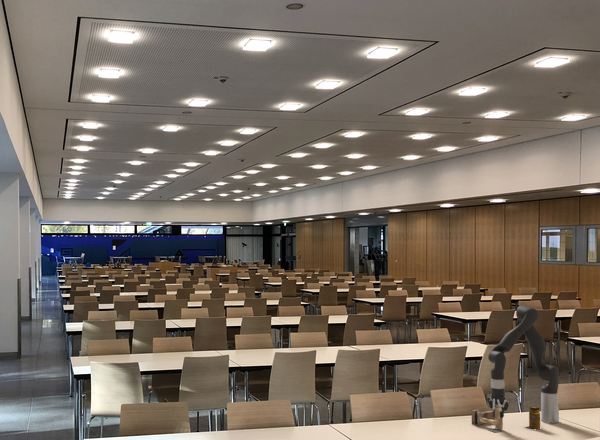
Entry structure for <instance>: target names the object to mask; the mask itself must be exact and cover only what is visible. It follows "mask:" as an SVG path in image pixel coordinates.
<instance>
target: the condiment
mask: <svg viewBox="0 0 600 440" xmlns="http://www.w3.org/2000/svg"><path fill="white" fill-rule="evenodd" d="M528 422H529V423H528V426H524V427H523V428H525V429H527V430H531V431H538V430H539V431H540V430H544V428H543V427H541V409H540V407H539V406H535V405H533V406H532V405H531V406H530V405H529V411H528ZM540 428H541V429H540ZM534 429H536V430H534Z"/></svg>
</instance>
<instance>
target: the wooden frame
mask: <svg viewBox="0 0 600 440" xmlns="http://www.w3.org/2000/svg"><path fill="white" fill-rule="evenodd" d="M482 412H483V411H480V412H477V422H478V425H477V426H482V422H484V424H489V425H494V426H495V427H494V428H495V429H498V430H501V431H502V430H503V429H504V428H503V426H504V423H503V422H504V421H503V418H504V417H503V418H500V408H499V405H498V406H497V407H495V420H491V419H486V418H482Z"/></svg>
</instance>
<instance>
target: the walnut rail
mask: <svg viewBox="0 0 600 440" xmlns="http://www.w3.org/2000/svg"><path fill="white" fill-rule="evenodd" d="M477 412H482V418H486V419H491V420H495V417H494V415H493V410H487V411H481V410H480V409H472V410H471V425H473V426H479V425H478V422H477ZM482 424H485V423H484V422H482Z"/></svg>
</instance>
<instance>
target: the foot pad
mask: <svg viewBox="0 0 600 440" xmlns="http://www.w3.org/2000/svg"><path fill="white" fill-rule="evenodd" d="M487 431H488V432H492V433H494V434H496V433H502V431H503V430H502V429H501V430H499V429H495V427H494V428H489V429H487Z"/></svg>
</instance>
